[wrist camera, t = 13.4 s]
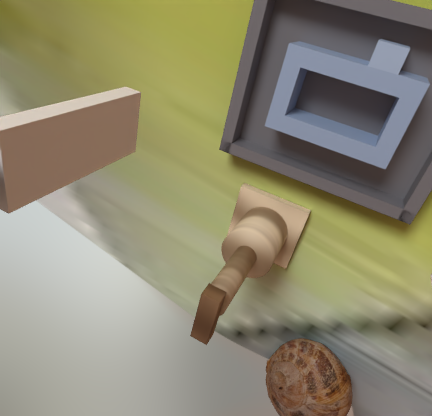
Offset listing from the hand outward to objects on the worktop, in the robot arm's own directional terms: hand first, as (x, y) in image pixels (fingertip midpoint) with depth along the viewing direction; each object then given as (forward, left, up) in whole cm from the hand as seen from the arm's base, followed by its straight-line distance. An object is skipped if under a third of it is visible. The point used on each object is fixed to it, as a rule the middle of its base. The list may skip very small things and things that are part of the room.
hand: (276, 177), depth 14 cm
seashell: (+30, +8, -19) cm, 36 cm away
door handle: (+14, -2, -19) cm, 23 cm away
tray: (0, 0, -19) cm, 19 cm away
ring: (0, 0, -18) cm, 18 cm away
